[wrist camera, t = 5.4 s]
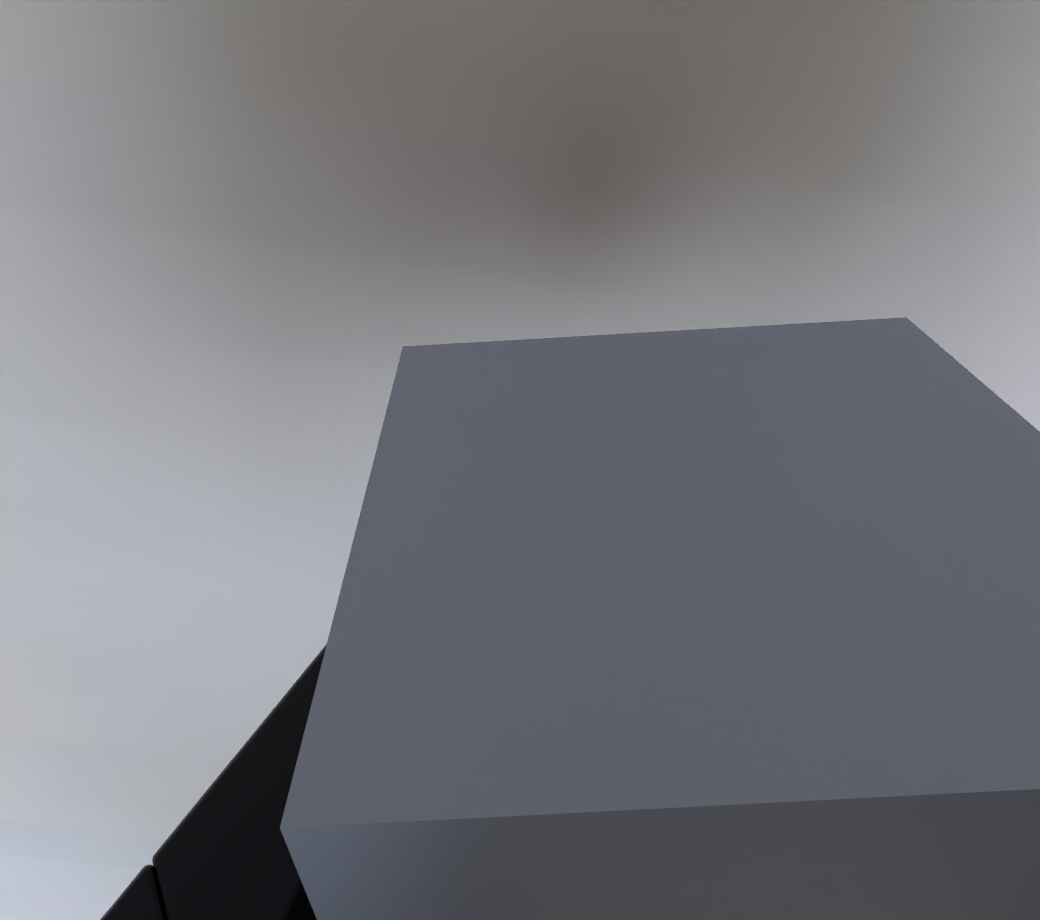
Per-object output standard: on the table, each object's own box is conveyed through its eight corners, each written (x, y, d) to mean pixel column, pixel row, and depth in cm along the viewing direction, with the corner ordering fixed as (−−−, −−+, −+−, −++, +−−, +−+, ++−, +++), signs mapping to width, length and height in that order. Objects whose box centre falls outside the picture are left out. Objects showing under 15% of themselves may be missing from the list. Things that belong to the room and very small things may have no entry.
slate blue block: (453, 682, 10) (421, 1179, 6) (403, 346, 7) (279, 828, 3) (821, 663, 10) (1045, 1150, 6) (906, 316, 7) (1431, 767, 3)
